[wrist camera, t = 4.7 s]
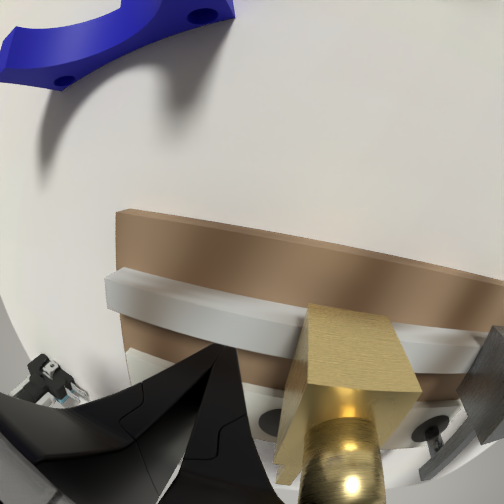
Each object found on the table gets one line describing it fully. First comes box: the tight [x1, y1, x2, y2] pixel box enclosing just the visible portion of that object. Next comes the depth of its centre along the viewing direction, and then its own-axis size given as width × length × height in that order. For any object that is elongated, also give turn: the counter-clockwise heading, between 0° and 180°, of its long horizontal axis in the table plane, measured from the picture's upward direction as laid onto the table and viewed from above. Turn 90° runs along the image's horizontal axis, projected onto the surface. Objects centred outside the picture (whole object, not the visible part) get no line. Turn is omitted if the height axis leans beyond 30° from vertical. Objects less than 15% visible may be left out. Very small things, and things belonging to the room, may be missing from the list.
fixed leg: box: [419, 325, 504, 481], centre depth 8 cm, size 3×10×5 cm, turn 172°
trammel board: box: [104, 209, 504, 450], centre depth 12 cm, size 22×13×3 cm, turn 82°
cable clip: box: [0, 0, 235, 91], centre depth 7 cm, size 12×4×6 cm, turn 97°
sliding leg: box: [273, 303, 422, 504], centre depth 8 cm, size 3×10×7 cm, turn 172°
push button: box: [8, 354, 85, 407], centre depth 15 cm, size 7×5×10 cm
